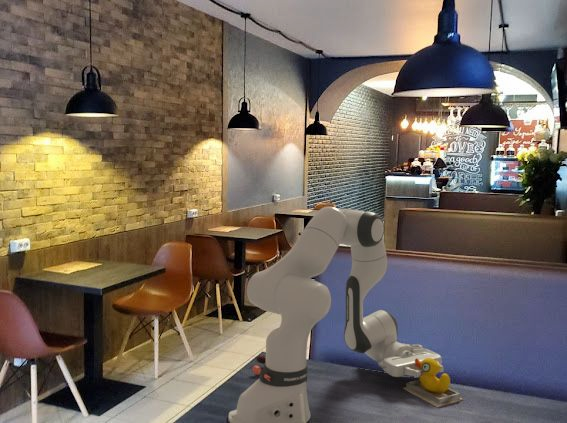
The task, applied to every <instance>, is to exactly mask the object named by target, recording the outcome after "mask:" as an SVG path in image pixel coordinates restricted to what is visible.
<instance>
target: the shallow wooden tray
mask: <svg viewBox="0 0 567 423" xmlns="http://www.w3.org/2000/svg"><path fill="white" fill-rule="evenodd" d="M402 388H403V390H405V391H407V392H408V393H410V394H412V395H414V396H416V397H417V398H420V399H421V400H423V401H425V402H427V403H429V404H430V405H432V406H435V407H436V408H439V407H443V406H446V405H451V404H454V403H457V402H462V401H463V400H464V399H463V398H462V397H461V393H459V392H457V391H456V390H454V389H452V388H449V389H448V390H447V391H445V392H442V393H434V392H431V391H428V390H426V389H425V388H424V387H423V386H422V384H421V382H420V379H417V380H412V381H408V382H406V386H405V387H404V386H403V387H402Z"/></svg>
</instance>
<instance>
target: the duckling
mask: <svg viewBox="0 0 567 423" xmlns="http://www.w3.org/2000/svg"><path fill="white" fill-rule="evenodd" d="M415 362H416V366H417V367H418V368H419V369H422V372H423V373H421V377H419V380H420V382H421V384H422V386H423V387H424V388H425V389H426V390H428V391H431V392H434V393H442V392H445V391H447V390H448V389H450V385H451V378H450V376H449V374H447V373H442V374H441V375H440V377H439V378H438V377H437V376H436V375H437V374H438V373H439V372H438V371H439V370H440V368H441V367H440V365H439V364H438V363H437V361H436V360H434V359H432V358H426V359H424V360H423V361H422V362H420V361H419V360H418V359H417V358H416V359H415Z"/></svg>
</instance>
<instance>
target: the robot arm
mask: <svg viewBox="0 0 567 423" xmlns="http://www.w3.org/2000/svg"><path fill="white" fill-rule="evenodd" d="M384 235H385V223H384V220H383V219H382V218H381V216H380V215H379V214H378V213H375V212H374V211H373V212H372V211H364V210H358V209H357V210H356V209H353V208H336V207H334V206H324V207H322V208H320V209H319V210H318V211H317V212H316V213H315V214H314V215H313V217H311V219H310V220H309V221H308V223H307V225H306V226H305V227H304V229H303V230H302V232H301V233H300V235H299V237H298V238H297V240H296V241H295V242H294V244H293V245H292V247H291V248H290V250H289V251H288V252H287V253H286V254H285V255H284V256H283V257H281V258H279V260H278V261H276V262H275V263H274V264H273V265H271V266H269V267H268V268H266V269H264V270H261V271H257V272H255V273H254V274H252V276H251V277H250V278H249V280H248V283H247V285H246V286H247V287H246V295H247V299H248V301H249V303H251V305H254V306H255V307H257V308H259V309H260V310H262V311H265V312H269V313H273V314H277V315H280V316H281V322H280V326H279V327H277V328H275V329H273V330H272V331H271V332H269V333H268V335H267V336H266V339H265V340H266V341H265V358H266V363H264V364H263V366H262V367H263V369H261V367H260V366H259V365H253V367H252V372H253V373H254V374H255V375H257V376H258V375H259V376H258V378H257V380H256V381H254V382H253V384H251V385H250V386H249V387H248V388H247V389H245V390H244V391H243V392H242V393H241V394H240V395H239V397H238V400H237V405H236V409H234V410H231V411H229V412H228V422H229V423H307V422H308V421H310V419H311V411H310V407H309V402H308V393H307V382H308V364H307V354H308V353H307V352H308V350H307V349H308V342H309V341H308V340H309V336H310V333H311V331H312V329H313V328H314V326H315V325H316V324H317V323H318V322H320V321H321V320H322V319H324V318H325V317H326V315H327V314H328V313H329V311H330V309H331V305H332V296H331V292H330V290H329V288H328V286H327V285H326V284H324V283H321V282H319V281H317V280H314V279H312V278H313V277H317V276H319V275H321V274H323V273H324V272H325V271H326V270H327V268H328V267H329V265H330V263H331V261H332V259H333V257H334V255H335V254H336V252H337V251H338V248H339V246H340V245H345V246H349V247H350V254H351V261H352V262H351V270H350V273H349V277H348V278H347V280H346V283H345V324H344V325H345V326H344V329H343V330H344V332H343V338H344V342H345V344H346V346H347V348H349V350H351V351H352V352H355V353H358V354H364V353H365V354H366V355H367V356H368V357H369V358H370V359H371V360H374V361H375V362H377V365H378V366H379V367H381V368H382V370H383V371H384V372H385V373H386V374H388V375H389V376H392V377H395V378H399V377H403V376H410V377H415V378H416V379H417V378H420V377H421V375H422V372H423V371H422V369H419V368H418V367H417V366H416V362H415V359H416V358H417V359H418V360H419V361H420V362H422V361H423V360H424V359H426V358H432V359H434V360H436V361H437V363H438V364H439V365H440V367H441V368H440V370H439V371H438V373H442V372H444V365H442V363H443V361H442V360H443V359H442V356H441V355H440V354H439V353H437V352H434V351H432V350H431V349H428V348H424V346H423V345H421V344H408V343H401V342H399V341H397V340H398V337H399V334H398V333H399V332H398V331H399V328H398V321H397V319H396V318H395V317H394V316H393V315H392V314H391V313H390V312H388V311H386V310H384V309H379V310H376V311H374V312H372V313H370V314H369V315H367V316H364V300H365V297H367V294H368V293H369V292H370V291H371V289H372V288H374V286H375V285H377V284H378V282H380V281H381V280H382V279H383V278H384V276H385V274H386V272H387V268H388V257H387V249H386V244H385V240H384Z"/></svg>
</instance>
